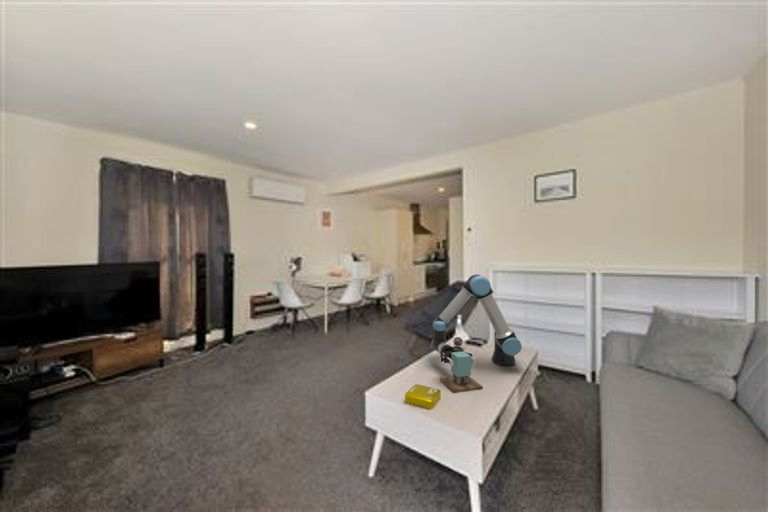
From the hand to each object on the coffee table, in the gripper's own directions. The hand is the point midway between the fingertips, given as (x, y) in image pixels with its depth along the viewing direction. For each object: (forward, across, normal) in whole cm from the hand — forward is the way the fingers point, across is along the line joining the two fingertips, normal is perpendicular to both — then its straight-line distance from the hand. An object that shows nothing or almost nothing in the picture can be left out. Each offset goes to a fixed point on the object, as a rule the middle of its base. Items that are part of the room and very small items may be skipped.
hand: (463, 362), depth 177 cm
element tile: (+7, +28, -15) cm, 32 cm away
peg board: (-3, 0, -14) cm, 14 cm away
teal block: (-3, 0, -8) cm, 8 cm away
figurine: (-39, -18, -14) cm, 46 cm away
